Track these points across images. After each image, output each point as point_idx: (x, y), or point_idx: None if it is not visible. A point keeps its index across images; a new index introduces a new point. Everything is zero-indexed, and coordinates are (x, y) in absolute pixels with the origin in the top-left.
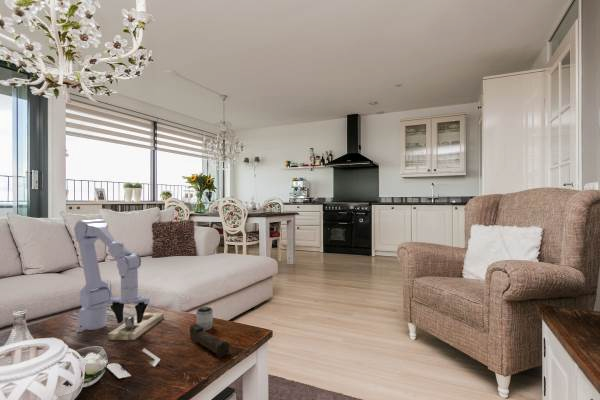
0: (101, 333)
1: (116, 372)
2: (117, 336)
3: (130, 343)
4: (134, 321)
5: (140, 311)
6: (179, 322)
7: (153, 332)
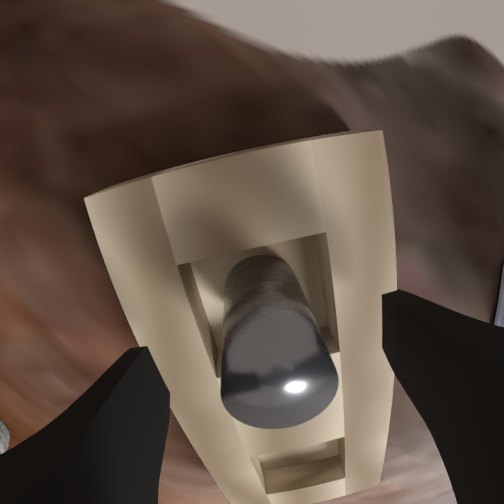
0: (486, 255)
1: None
2: (270, 146)
3: (131, 160)
4: (335, 416)
5: (16, 447)
6: None
7: None
